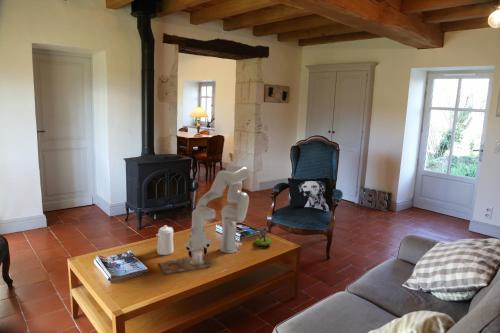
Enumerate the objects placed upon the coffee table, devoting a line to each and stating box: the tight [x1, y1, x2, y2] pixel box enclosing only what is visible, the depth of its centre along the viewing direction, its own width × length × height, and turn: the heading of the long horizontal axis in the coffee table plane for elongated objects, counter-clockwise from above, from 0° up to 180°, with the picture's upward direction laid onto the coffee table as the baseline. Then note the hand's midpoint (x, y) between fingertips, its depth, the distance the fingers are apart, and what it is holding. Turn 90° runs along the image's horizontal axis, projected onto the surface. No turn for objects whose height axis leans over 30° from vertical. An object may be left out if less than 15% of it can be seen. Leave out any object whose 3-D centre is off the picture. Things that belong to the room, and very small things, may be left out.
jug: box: [191, 247, 204, 264], centre depth 226 cm, size 11×7×8 cm, turn 26°
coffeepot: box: [155, 224, 175, 256], centre depth 240 cm, size 11×25×19 cm, turn 168°
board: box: [158, 256, 211, 276], centre depth 224 cm, size 28×16×1 cm, turn 116°
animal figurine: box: [253, 225, 273, 247], centre depth 261 cm, size 14×13×15 cm
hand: (197, 255), depth 227 cm, fingers open, 9 cm apart
